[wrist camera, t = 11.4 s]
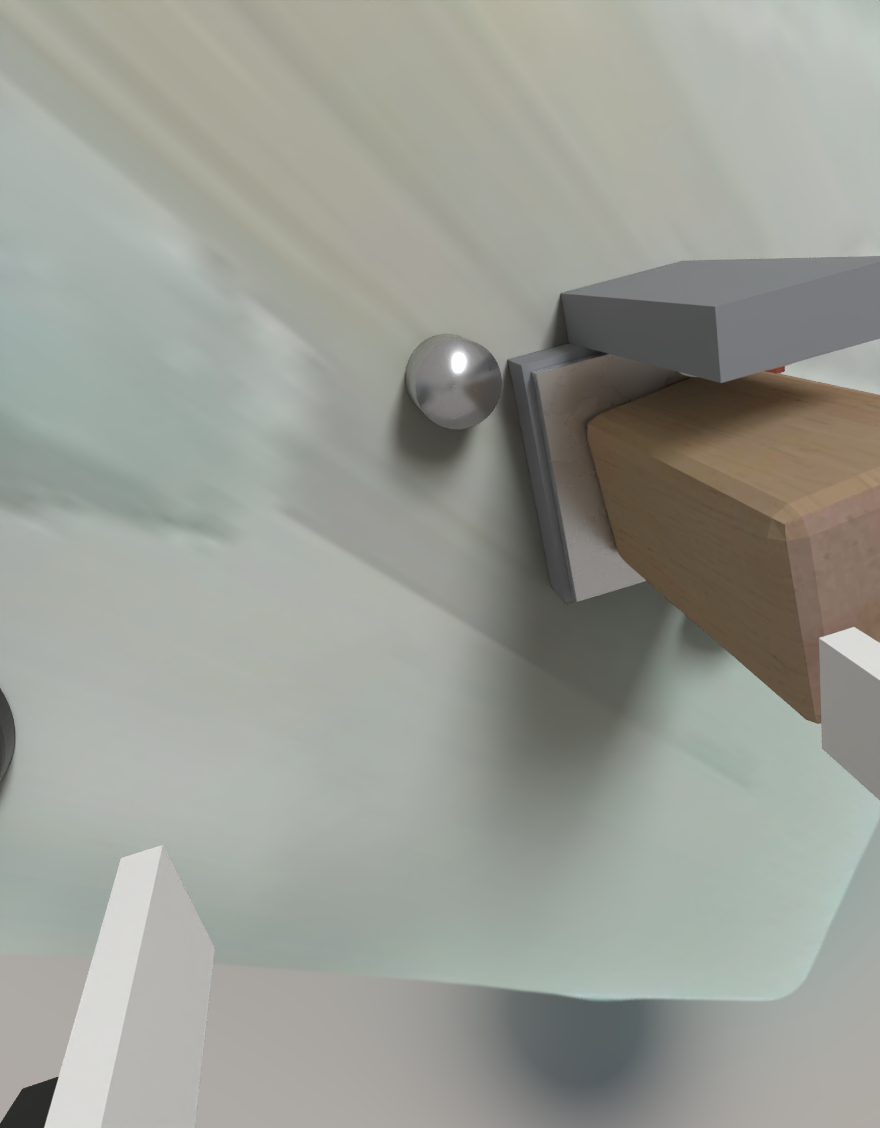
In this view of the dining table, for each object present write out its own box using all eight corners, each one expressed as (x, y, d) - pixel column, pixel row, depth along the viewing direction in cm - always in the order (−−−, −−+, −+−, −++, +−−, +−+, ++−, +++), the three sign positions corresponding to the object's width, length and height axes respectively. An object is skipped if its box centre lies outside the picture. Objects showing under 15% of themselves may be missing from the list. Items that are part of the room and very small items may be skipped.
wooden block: (757, 505, 49) (1040, 646, 30) (616, 562, 48) (816, 741, 30) (730, 356, 45) (1038, 415, 26) (576, 417, 44) (779, 522, 26)
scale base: (551, 586, 53) (670, 731, 36) (498, 309, 45) (618, 332, 29) (760, 524, 54) (968, 635, 37) (743, 245, 46) (992, 231, 30)
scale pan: (557, 579, 52) (576, 602, 49) (517, 366, 46) (536, 374, 43) (755, 520, 53) (788, 538, 50) (741, 305, 47) (777, 307, 44)
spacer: (416, 425, 47) (427, 439, 43) (396, 345, 45) (405, 352, 41) (492, 405, 47) (509, 416, 44) (476, 324, 45) (492, 329, 42)
